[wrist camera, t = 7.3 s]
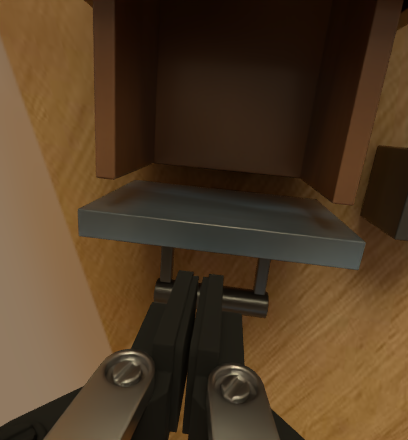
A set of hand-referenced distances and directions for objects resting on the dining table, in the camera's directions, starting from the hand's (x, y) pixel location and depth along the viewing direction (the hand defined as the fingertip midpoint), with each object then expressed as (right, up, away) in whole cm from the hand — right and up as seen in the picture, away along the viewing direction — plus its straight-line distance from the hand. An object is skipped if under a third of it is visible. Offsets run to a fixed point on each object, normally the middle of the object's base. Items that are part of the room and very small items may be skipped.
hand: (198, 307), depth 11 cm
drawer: (+2, +8, +7) cm, 11 cm away
